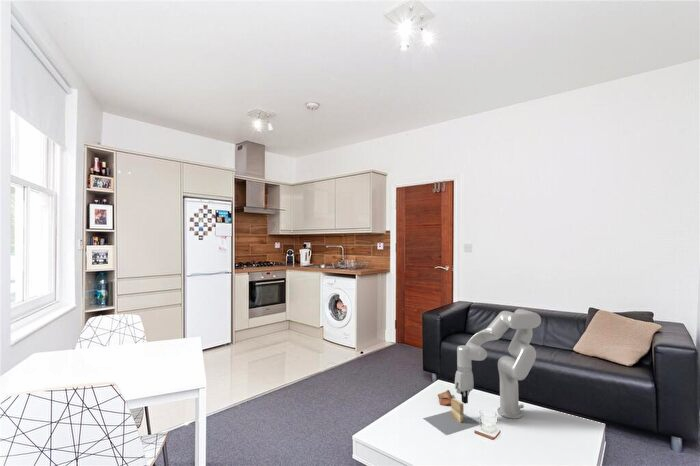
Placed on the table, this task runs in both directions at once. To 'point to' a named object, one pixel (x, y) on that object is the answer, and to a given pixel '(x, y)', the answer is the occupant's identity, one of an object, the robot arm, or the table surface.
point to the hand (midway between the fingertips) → (464, 402)
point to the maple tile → (457, 410)
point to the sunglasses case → (445, 398)
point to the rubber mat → (450, 423)
